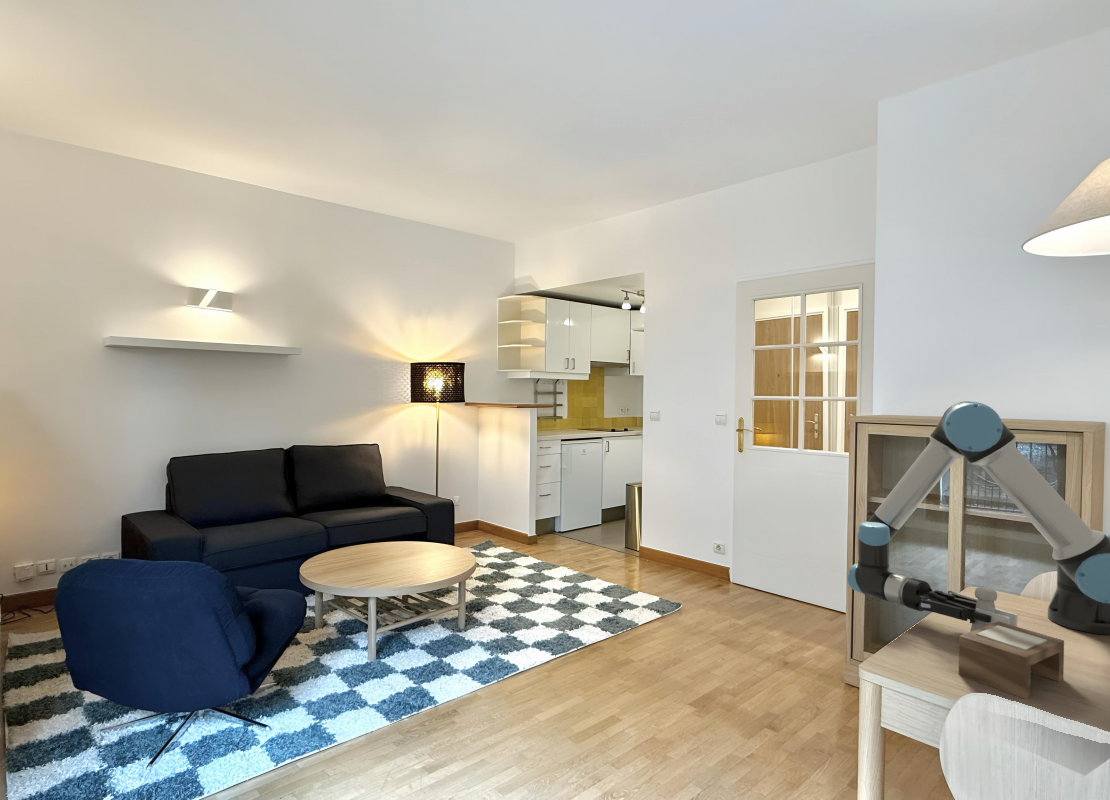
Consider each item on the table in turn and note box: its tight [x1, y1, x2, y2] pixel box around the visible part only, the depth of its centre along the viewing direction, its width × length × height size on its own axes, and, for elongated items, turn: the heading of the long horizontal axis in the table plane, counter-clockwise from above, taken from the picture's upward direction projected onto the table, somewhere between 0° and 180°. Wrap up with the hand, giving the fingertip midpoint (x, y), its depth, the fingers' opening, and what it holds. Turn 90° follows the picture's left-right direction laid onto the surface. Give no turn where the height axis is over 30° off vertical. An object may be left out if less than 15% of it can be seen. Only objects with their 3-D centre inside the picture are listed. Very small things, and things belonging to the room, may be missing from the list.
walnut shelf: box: [958, 621, 1065, 699], centre depth 130 cm, size 16×12×8 cm
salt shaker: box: [969, 586, 998, 632], centre depth 146 cm, size 6×6×13 cm
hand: (1012, 621), depth 141 cm, fingers closed on salt shaker, 3 cm apart
